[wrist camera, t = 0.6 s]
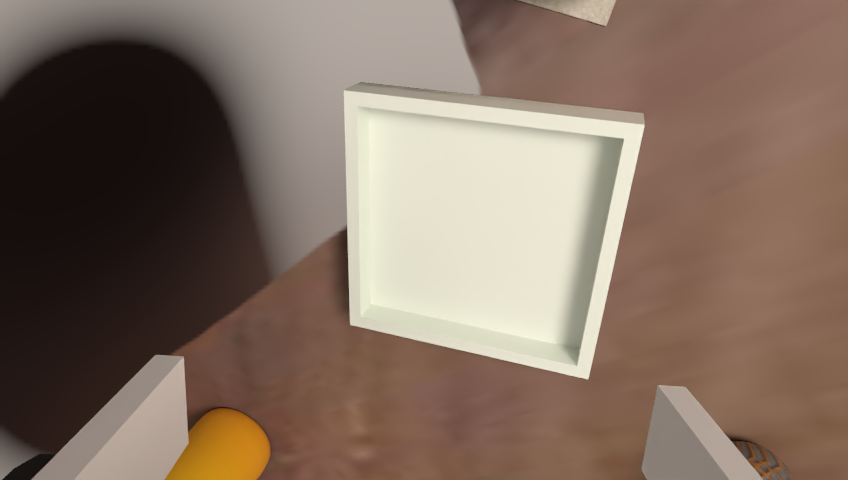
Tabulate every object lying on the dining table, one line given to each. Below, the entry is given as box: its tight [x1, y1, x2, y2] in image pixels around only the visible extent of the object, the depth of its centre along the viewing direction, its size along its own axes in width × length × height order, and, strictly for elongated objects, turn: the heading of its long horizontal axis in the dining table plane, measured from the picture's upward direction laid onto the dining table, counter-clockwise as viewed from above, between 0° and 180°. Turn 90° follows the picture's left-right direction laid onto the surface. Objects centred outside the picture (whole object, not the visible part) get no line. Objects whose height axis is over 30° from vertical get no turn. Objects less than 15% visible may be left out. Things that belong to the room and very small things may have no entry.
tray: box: [344, 82, 645, 379], centre depth 43 cm, size 20×20×3 cm
